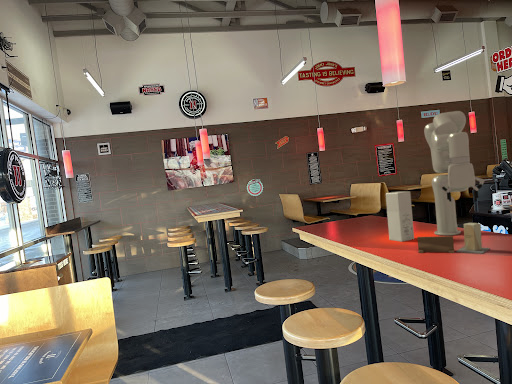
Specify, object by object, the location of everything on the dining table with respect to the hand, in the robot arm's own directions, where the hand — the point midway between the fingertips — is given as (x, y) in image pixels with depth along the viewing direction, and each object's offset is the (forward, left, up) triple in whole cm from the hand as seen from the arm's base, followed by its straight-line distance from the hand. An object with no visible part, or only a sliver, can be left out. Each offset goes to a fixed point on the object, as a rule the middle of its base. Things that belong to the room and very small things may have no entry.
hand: (462, 200), depth 163 cm
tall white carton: (-13, -35, -21) cm, 43 cm away
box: (+2, +4, -21) cm, 21 cm away
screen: (+9, -9, -21) cm, 25 cm away
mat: (+2, +3, -21) cm, 21 cm away
